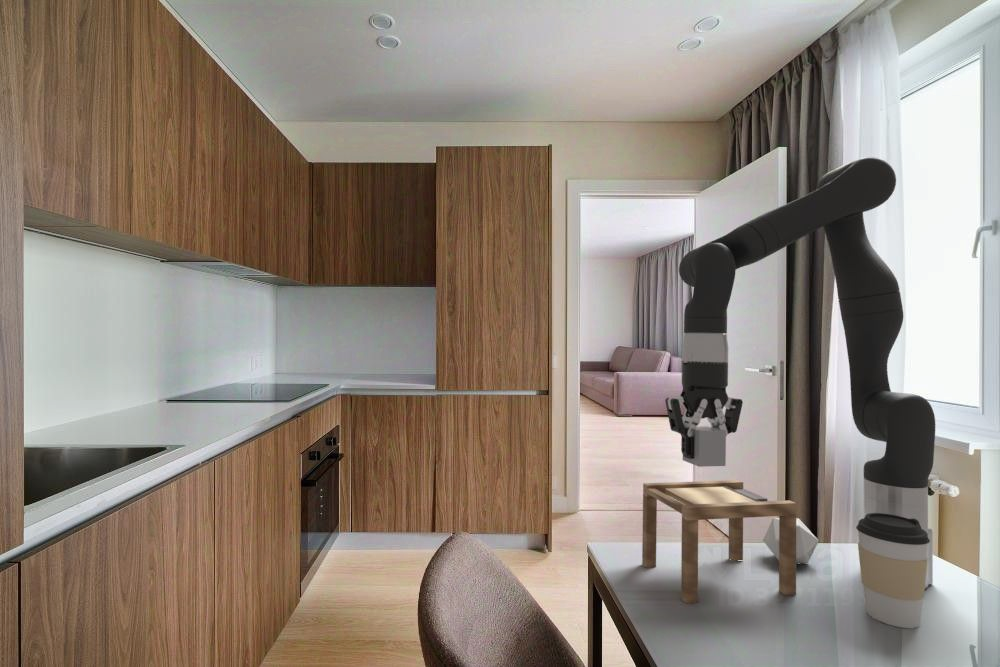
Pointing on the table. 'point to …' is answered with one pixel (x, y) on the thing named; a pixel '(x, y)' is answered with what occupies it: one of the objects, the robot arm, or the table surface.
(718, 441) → the grey block
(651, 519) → the frame
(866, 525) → the coffee cup
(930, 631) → the table surface
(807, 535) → the die
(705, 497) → the trapdoor
